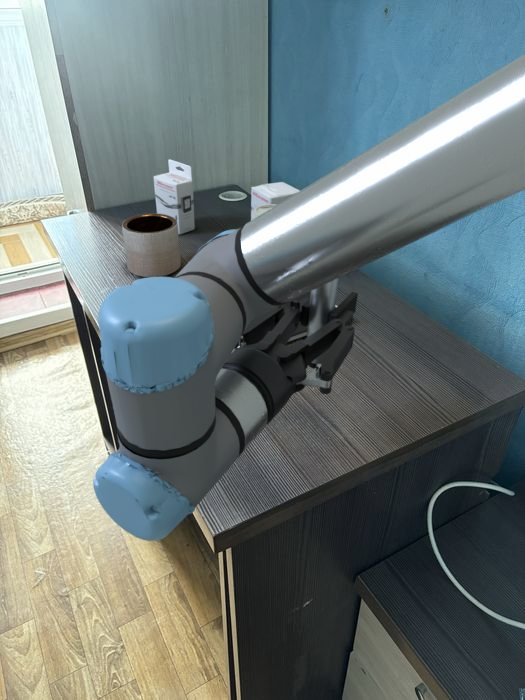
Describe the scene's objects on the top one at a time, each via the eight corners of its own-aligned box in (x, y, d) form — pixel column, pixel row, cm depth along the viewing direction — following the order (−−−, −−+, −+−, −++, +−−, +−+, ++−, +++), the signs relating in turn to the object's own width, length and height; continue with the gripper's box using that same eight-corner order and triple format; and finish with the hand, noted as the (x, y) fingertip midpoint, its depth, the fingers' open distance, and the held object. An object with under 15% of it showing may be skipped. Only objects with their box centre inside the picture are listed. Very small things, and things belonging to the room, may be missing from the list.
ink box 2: (300, 241, 119) (303, 191, 112) (268, 249, 115) (270, 197, 108) (280, 229, 125) (282, 180, 118) (249, 235, 121) (250, 185, 114)
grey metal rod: (332, 362, 66) (343, 271, 59) (320, 373, 64) (330, 280, 57) (313, 354, 68) (321, 263, 60) (300, 364, 66) (307, 272, 58)
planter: (134, 283, 100) (128, 237, 95) (122, 261, 108) (115, 217, 103) (188, 274, 104) (185, 228, 99) (172, 252, 112) (168, 209, 107)
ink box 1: (157, 225, 125) (150, 162, 116) (173, 219, 128) (168, 158, 119) (179, 235, 120) (175, 170, 112) (196, 229, 123) (192, 166, 115)
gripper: (175, 399, 55) (284, 305, 72) (309, 460, 48) (395, 341, 65) (169, 341, 51) (287, 255, 67) (315, 399, 44) (406, 288, 60)
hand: (340, 298), depth 66 cm, fingers closed on grey metal rod, 3 cm apart
